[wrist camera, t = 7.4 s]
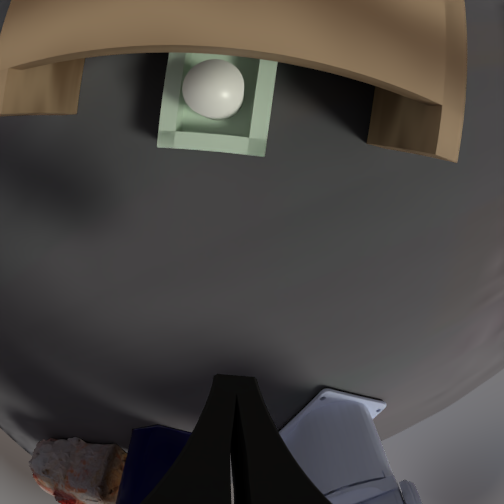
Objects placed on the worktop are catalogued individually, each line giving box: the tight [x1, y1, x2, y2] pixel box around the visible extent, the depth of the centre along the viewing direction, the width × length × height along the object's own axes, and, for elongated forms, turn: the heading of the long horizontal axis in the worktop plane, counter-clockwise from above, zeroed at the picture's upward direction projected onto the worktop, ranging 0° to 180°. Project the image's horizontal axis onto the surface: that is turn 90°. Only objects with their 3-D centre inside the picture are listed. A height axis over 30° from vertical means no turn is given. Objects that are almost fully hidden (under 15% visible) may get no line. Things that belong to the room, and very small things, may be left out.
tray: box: [157, 52, 278, 157], centre depth 12 cm, size 9×5×4 cm, turn 173°
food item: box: [29, 437, 127, 504], centre depth 23 cm, size 14×8×10 cm, turn 107°
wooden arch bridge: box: [0, 0, 467, 163], centre depth 10 cm, size 9×19×7 cm, turn 82°
